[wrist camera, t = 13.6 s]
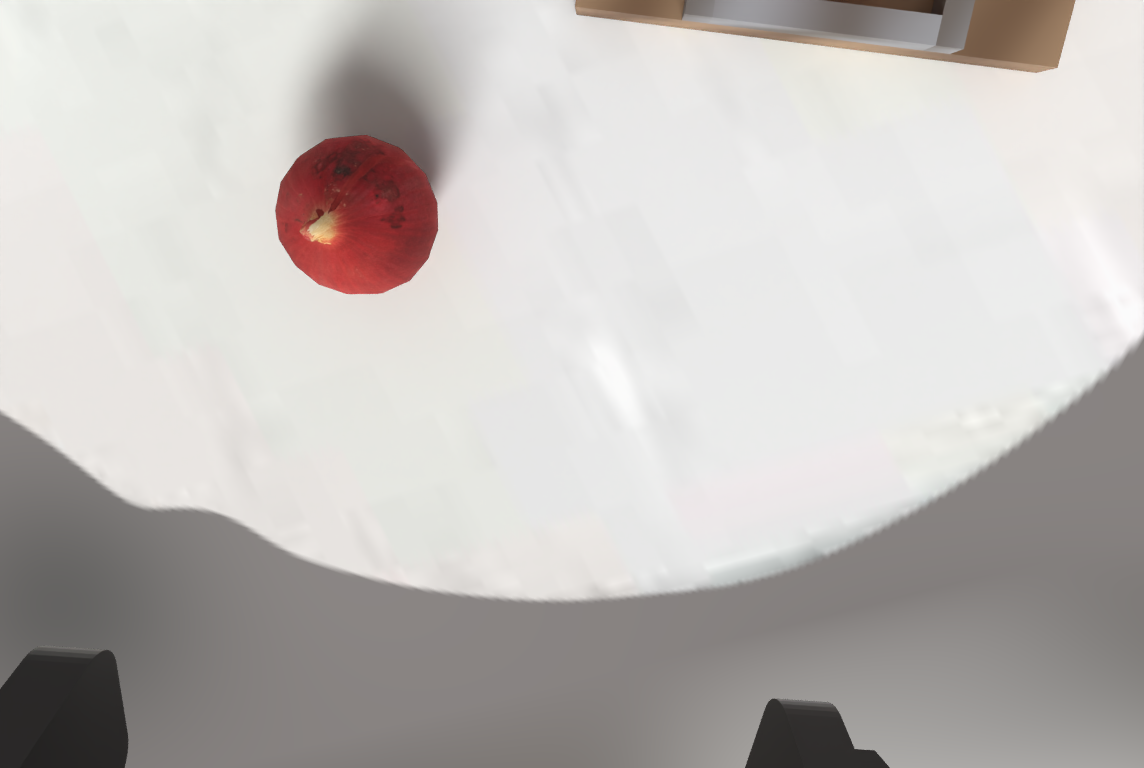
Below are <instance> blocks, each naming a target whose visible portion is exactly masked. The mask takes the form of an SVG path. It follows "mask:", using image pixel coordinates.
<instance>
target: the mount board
mask: <svg viewBox="0 0 1144 768" xmlns="http://www.w3.org/2000/svg"><path fill="white" fill-rule="evenodd" d="M1074 4H1075V0H576V3H575V9H576V14H577V15H584V16H592V17H600V18H607V19H615V20H623V21H631V22H639V23H647V24H655V25H663V26H671V27H679V28H687V29H695V30H702V31H710V32H718V33H726V34H734V35H742V36H750V37H758V38H766V39H774V40H782V41H789V42H797V43H805V44H813V45H821V46H829V47H837V48H845V49H853V50H861V51H869V52H877V53H884V54H892V55H900V56H908V57H916V58H924V59H932V60H940V61H948V62H956V63H964V64H971V65H979V66H987V67H995V68H1003V69H1011V70H1019V71H1027V72H1035V73H1037V72H1041V71H1045V70H1050V69H1054V68H1057V67H1058V64H1059V60H1060V56H1061V52H1062V49H1063V45H1064V41H1065V37H1066V34H1067V30H1068V26H1069V22H1070V19H1071V15H1072V11H1073V7H1074Z"/></svg>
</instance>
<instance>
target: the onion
mask: <svg viewBox="0 0 1144 768" xmlns="http://www.w3.org/2000/svg"><path fill="white" fill-rule="evenodd" d="M275 211H276V219H277V228H278V236H279V240H280V242H281V243H282V245H283V246H284V248H285V250H286V251H287V253H288V254H289V256H290V258H291V259H292V261H293V262H294V264H295V265H296V266H297V267H298V268H299V269H300V270H302V271H303V272H304V273H305V274H307V275H308V276H309V277H310V278H312V279H313V280H314V281H315V282H316V283H318V284H319V285H322V286H325V287H328V288H331V289H334V290H337V291H340V292H343V293H346V294H379V293H384V292H386V291H388V290H390V289H392V288H395V287H397V286H399V285H401V284H403V283H406V282H408V281H410V280H411V279H412V277H413V276H414V275H415V274H416V273H417V271H418V270H419V269H420V268H421V267H422V265H423V264H424V263H425V262H426V261H427V259H428V258H429V255H430V251H431V248H432V246H433V243H434V240H435V237H436V234H437V231H438V211H437V201H436V198H435V196H434V193H433V191H432V189H431V186H430V184H429V181H428V179H427V176H426V174H425V173H424V172H423V171H422V170H421V169H420V168H419V167H418V166H417V165H416V164H415V163H414V162H413V160H412V159H411V158H410V157H409V156H408V155H407V154H406V153H405V152H404V151H403V150H402V149H400V148H399V147H396V146H394V145H391V144H389V143H386V142H383V141H381V140H378V139H376V138H373V137H370V136H368V135H359V136H349V137H338V138H330V139H325V140H324V141H322V142H321V143H319V144H318V145H316V146H315V147H313V148H311V149H310V150H308V151H307V152H305V153H304V154H302V155H301V156H300V157H299V158H297V159H296V161H295V162H294V164H293V165H292V167H291V168H290V170H289V171H288V172H287V174H286V175H285V177H284V178H283V180H282V181H281V183H280V189H279V194H278V199H277V204H276V210H275Z"/></svg>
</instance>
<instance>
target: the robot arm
mask: <svg viewBox="0 0 1144 768" xmlns="http://www.w3.org/2000/svg"><path fill="white" fill-rule="evenodd" d="M127 753H128V733H127V726H126V721H125V714H124V707H123V701H122V695H121V689H120V683H119V676H118V670H117V664H116V659H115V657H114V654H113V653H112V652H111V651H109V650H101V649H86V648H72V647H57V646H39V647H37V648H35V649H33V650H32V651H31V652H30V653H29V654H28V655H27V656H26V657H25V658H24V659H23V660H22V662H21V663H20V665H19V666H18V667H17V668H16V669H15V671H14V672H13V673H12V675H11V676H10V677H9V678H8V680H7V681H6V682H5V684H4V685H3V686H2V687H1V689H0V768H125V764H126V759H127ZM745 768H889V766H888V765H887V764H886V763H885V762H884V761H883V759H882V758H881V757H880V756H879V755H878V754H877V753H876V751H874V750H858V749H854V746H853V744H852V742H851V739H850V737H849V735H848V732H847V730H846V727H845V725H844V722H843V720H842V718H841V716H840V714H839V712H838V710H837V709H836V707H835V706H834V705H833V704H831V703H829V702H817V701H816V702H815V701H802V700H788V699H787V700H786V699H771V700H770V701H769V702H768V704H767V705H766V708H765V711H764V713H763V716H762V719H761V722H760V725H759V728H758V731H757V734H756V737H755V740H754V743H753V746H752V749H751V752H750V755H749V758H748V761H747V764H746V767H745Z"/></svg>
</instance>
